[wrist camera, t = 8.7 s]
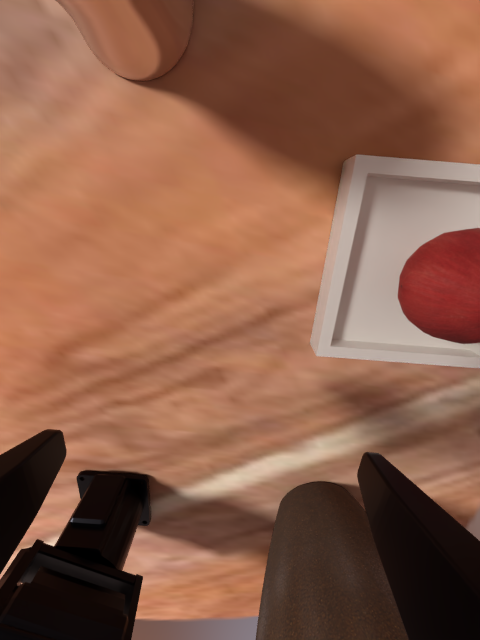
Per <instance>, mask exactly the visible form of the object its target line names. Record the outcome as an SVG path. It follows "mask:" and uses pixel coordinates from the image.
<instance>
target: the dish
mask: <svg viewBox="0 0 480 640" xmlns="http://www.w3.org/2000/svg"><path fill="white" fill-rule="evenodd" d="M473 228H480V165H478V164H466V163H454V162H442V161H430V160H418V159H406V158H394V157H382V156H370V155H358V154H356V155H354V156H352V157H351V158H349V159H347V160H345V161H344V162H343V168H342V173H341V178H340V184H339V189H338V195H337V200H336V205H335V211H334V216H333V222H332V227H331V232H330V238H329V243H328V249H327V254H326V259H325V265H324V270H323V275H322V281H321V286H320V292H319V297H318V302H317V308H316V313H315V319H314V324H313V329H312V335H311V340H310V344H311V346H312V348H313V350H314V352H315V354H316V356H323V357H337V358H350V359H363V360H376V361H390V362H403V363H416V364H429V365H443V366H456V367H469V368H480V343H473V344H460V343H455V342H451V341H447V340H443V339H439V338H435V337H432V336H430V335H428V334H426V333H424V332H422V331H421V330H420V329H419V328H417V327H416V326H415V325H414V324H412V323H411V322H410V321H409V320H408V319H407V318H406V316H405V315H404V314H403V311H402V309H401V306H400V303H399V300H398V287H399V277H400V274H401V272H402V269H403V267H404V265H405V263H406V260H407V259H408V258H409V257H410V256H411V255H412V254H413V253H414V252H415V251H416V250H417V249H418V248H419V247H420V246H422V245H423V244H424V243H426V242H428V241H430V240H432V239H434V238H435V237H437V236H439V235H441V234H443V233H446V232H452V231H459V230H465V229H473Z"/></svg>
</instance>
